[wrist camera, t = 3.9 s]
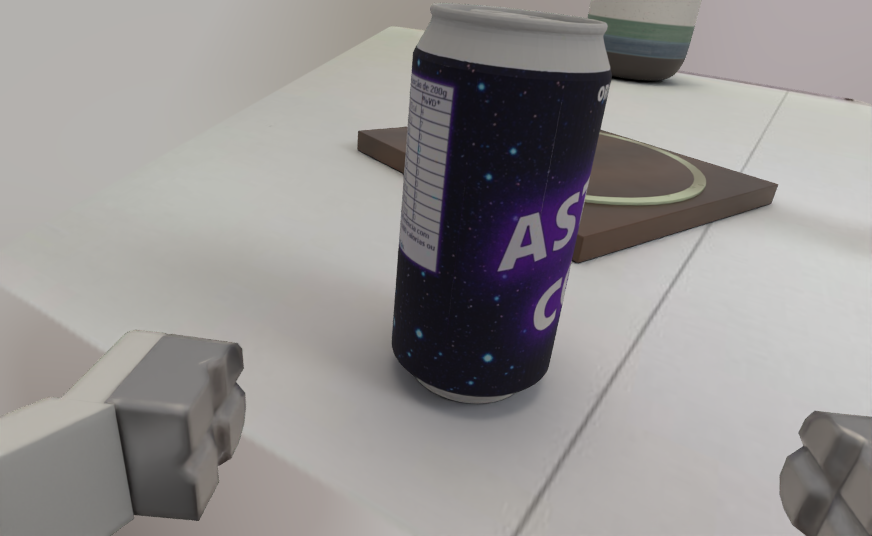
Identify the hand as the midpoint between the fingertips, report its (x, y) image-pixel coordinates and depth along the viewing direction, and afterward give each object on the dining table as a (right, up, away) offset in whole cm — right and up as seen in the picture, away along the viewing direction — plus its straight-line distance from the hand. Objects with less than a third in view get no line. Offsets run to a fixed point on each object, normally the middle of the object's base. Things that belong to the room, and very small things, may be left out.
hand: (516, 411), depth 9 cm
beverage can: (0, -2, +13) cm, 13 cm away
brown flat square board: (+8, +9, +36) cm, 38 cm away
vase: (+32, +35, +93) cm, 105 cm away
